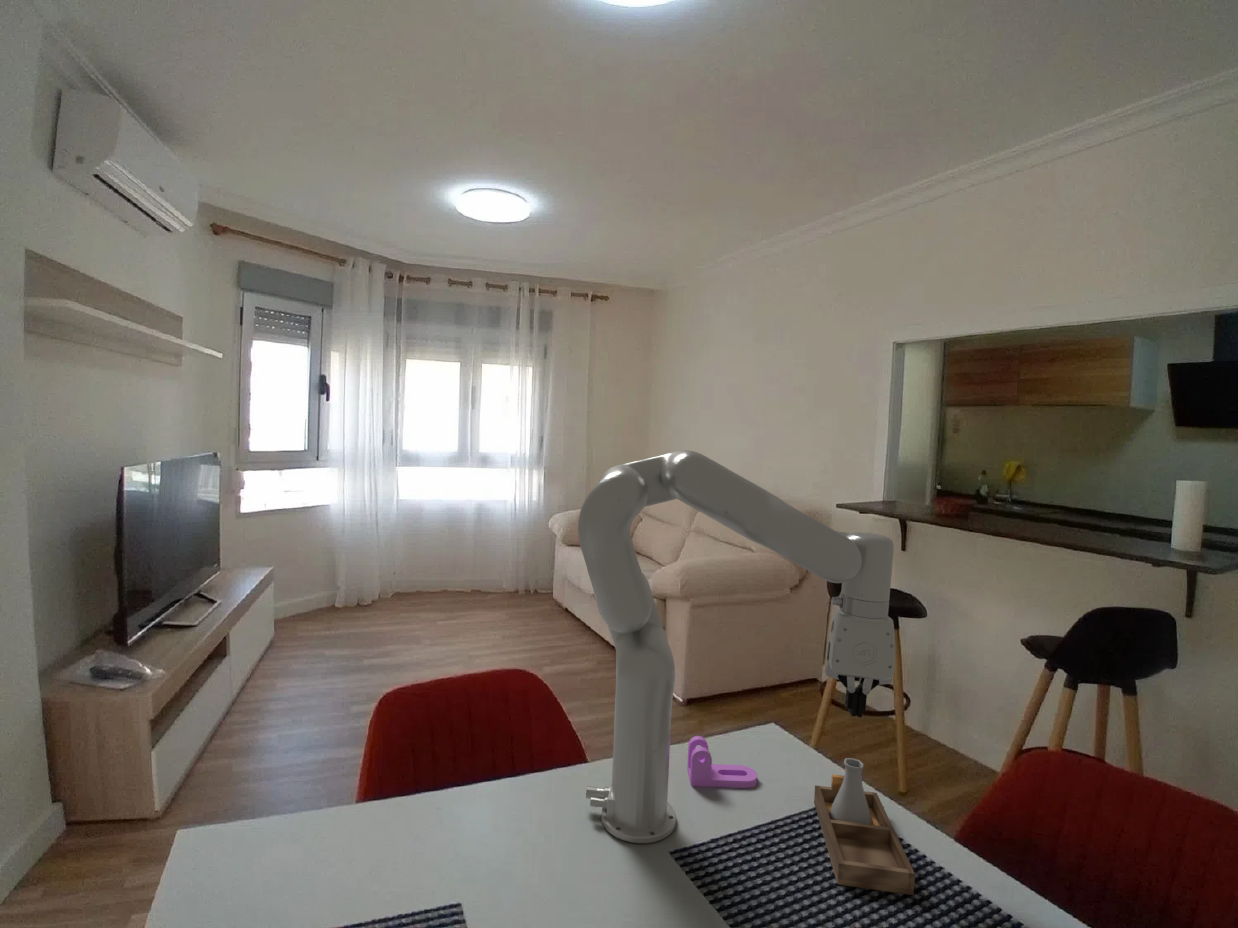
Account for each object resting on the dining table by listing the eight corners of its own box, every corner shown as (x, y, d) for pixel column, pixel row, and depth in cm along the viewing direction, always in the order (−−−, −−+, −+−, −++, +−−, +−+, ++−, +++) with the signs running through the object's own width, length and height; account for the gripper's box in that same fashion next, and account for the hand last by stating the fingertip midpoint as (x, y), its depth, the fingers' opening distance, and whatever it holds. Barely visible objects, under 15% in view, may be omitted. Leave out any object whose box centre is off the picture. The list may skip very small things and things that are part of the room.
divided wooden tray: (837, 884, 89) (839, 847, 89) (814, 802, 109) (815, 772, 109) (913, 894, 88) (916, 857, 87) (875, 810, 108) (877, 779, 108)
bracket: (690, 786, 113) (692, 750, 113) (687, 770, 119) (688, 735, 118) (759, 788, 113) (761, 752, 113) (753, 772, 119) (754, 737, 119)
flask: (877, 836, 99) (881, 777, 99) (831, 829, 101) (834, 770, 100) (868, 810, 106) (871, 754, 106) (825, 803, 108) (828, 748, 107)
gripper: (822, 608, 99) (812, 717, 100) (918, 618, 97) (908, 729, 98) (814, 596, 107) (805, 698, 107) (903, 605, 104) (894, 709, 105)
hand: (854, 713), depth 103 cm, fingers closed
